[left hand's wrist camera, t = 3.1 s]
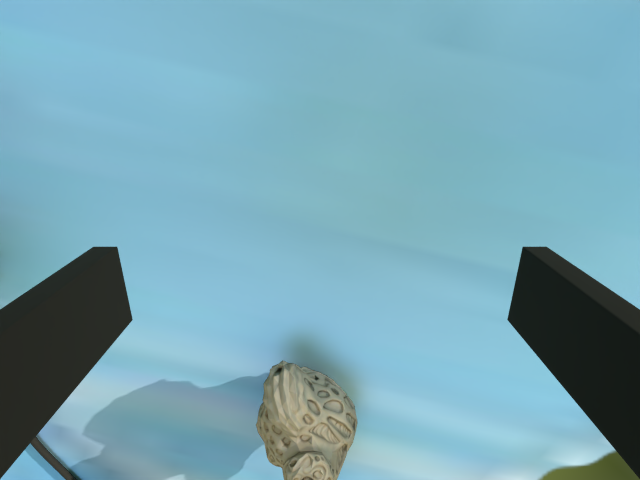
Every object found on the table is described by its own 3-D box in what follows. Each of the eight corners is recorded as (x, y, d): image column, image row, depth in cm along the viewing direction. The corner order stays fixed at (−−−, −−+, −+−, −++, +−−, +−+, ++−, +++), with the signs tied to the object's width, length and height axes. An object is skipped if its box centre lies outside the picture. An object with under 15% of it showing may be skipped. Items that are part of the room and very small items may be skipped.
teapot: (243, 335, 46) (210, 440, 32) (335, 317, 45) (342, 416, 31) (288, 458, 54) (276, 586, 40) (367, 444, 53) (385, 571, 39)
